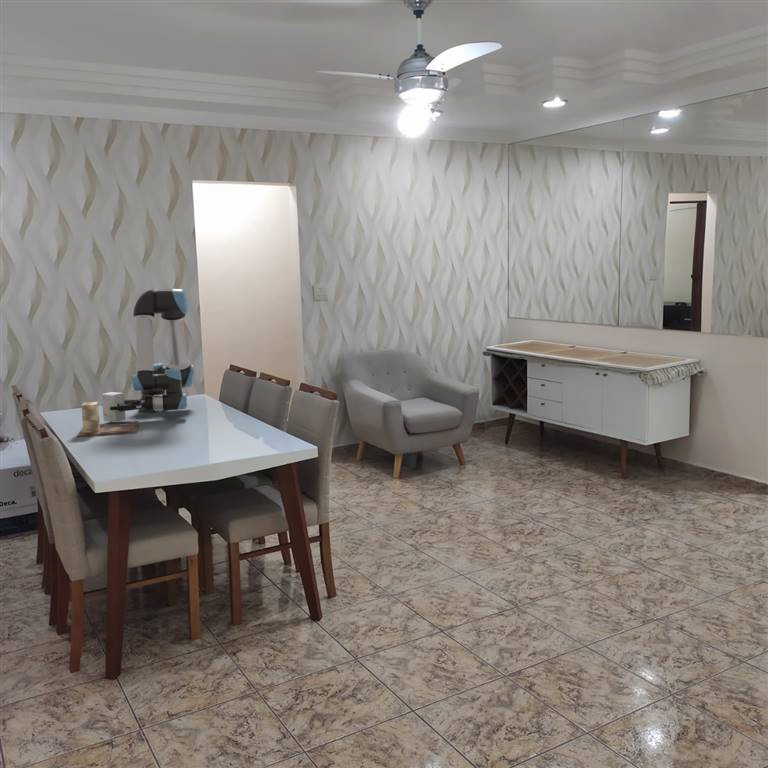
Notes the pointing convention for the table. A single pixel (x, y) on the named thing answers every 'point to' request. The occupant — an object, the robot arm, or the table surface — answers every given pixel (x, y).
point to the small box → (113, 399)
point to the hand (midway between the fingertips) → (103, 406)
